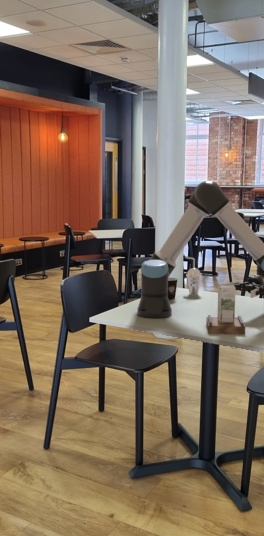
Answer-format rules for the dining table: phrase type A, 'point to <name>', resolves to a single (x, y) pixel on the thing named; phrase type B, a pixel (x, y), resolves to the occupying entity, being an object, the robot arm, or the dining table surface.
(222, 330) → the walnut serving tray
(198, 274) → the cup with straw
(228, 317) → the syrup box
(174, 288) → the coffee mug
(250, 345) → the dining table surface
